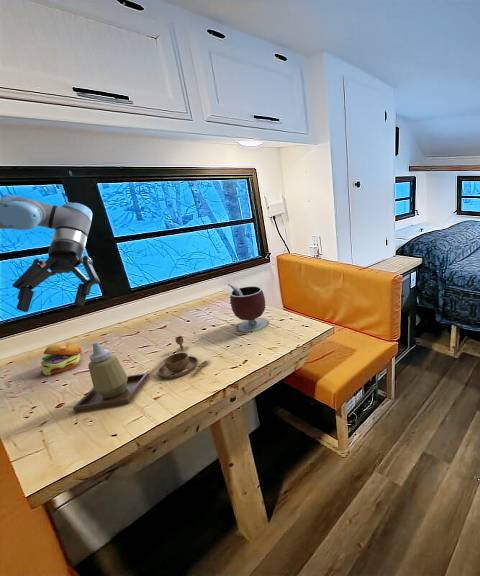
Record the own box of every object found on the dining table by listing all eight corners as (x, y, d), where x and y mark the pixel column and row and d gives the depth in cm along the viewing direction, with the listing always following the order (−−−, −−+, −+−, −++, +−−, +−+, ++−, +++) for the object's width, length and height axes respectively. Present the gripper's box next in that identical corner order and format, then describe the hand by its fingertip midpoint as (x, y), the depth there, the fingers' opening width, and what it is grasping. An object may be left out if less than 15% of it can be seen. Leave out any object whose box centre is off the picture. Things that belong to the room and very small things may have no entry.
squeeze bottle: (90, 402, 92) (68, 350, 86) (112, 384, 100) (93, 336, 94) (118, 400, 92) (97, 349, 86) (137, 383, 100) (119, 335, 94)
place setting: (142, 380, 102) (136, 365, 100) (179, 348, 121) (176, 335, 119) (193, 379, 102) (189, 364, 100) (223, 348, 121) (220, 335, 119)
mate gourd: (275, 320, 143) (268, 280, 136) (256, 335, 130) (248, 291, 124) (246, 318, 147) (238, 278, 140) (226, 331, 134) (216, 289, 127)
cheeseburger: (32, 376, 106) (28, 348, 105) (68, 365, 116) (65, 339, 115) (56, 377, 104) (53, 349, 103) (90, 366, 115) (87, 340, 114)
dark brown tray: (75, 413, 88) (72, 407, 88) (103, 384, 101) (101, 379, 100) (129, 404, 91) (127, 399, 91) (149, 377, 104) (148, 372, 103)
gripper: (120, 250, 103) (109, 307, 95) (30, 255, 97) (9, 317, 89) (106, 237, 97) (93, 297, 88) (8, 242, 91) (-17, 307, 82)
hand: (51, 307), depth 88 cm, fingers open, 13 cm apart
